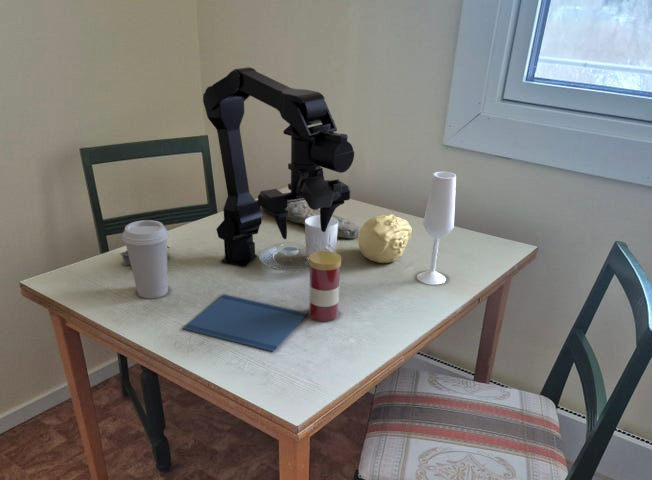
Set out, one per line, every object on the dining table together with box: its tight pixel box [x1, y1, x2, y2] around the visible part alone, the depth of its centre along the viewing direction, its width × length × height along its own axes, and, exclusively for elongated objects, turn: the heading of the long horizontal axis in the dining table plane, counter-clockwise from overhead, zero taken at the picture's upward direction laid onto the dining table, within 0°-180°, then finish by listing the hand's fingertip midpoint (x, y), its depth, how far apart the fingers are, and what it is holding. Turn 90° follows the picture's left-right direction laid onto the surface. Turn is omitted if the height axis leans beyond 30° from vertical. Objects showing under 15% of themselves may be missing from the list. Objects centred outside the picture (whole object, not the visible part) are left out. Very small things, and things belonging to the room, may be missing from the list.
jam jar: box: [308, 251, 342, 322], centre depth 130 cm, size 6×6×13 cm
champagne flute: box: [416, 171, 457, 286], centre depth 142 cm, size 7×7×24 cm
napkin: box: [182, 294, 308, 353], centre depth 130 cm, size 20×16×1 cm
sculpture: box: [357, 213, 413, 264], centre depth 155 cm, size 12×12×11 cm
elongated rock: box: [261, 201, 361, 239], centre depth 176 cm, size 35×5×10 cm
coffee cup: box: [121, 219, 170, 299], centre depth 137 cm, size 10×10×15 cm
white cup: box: [304, 215, 338, 264], centre depth 153 cm, size 8×8×10 cm
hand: (304, 235), depth 136 cm, fingers open, 9 cm apart
